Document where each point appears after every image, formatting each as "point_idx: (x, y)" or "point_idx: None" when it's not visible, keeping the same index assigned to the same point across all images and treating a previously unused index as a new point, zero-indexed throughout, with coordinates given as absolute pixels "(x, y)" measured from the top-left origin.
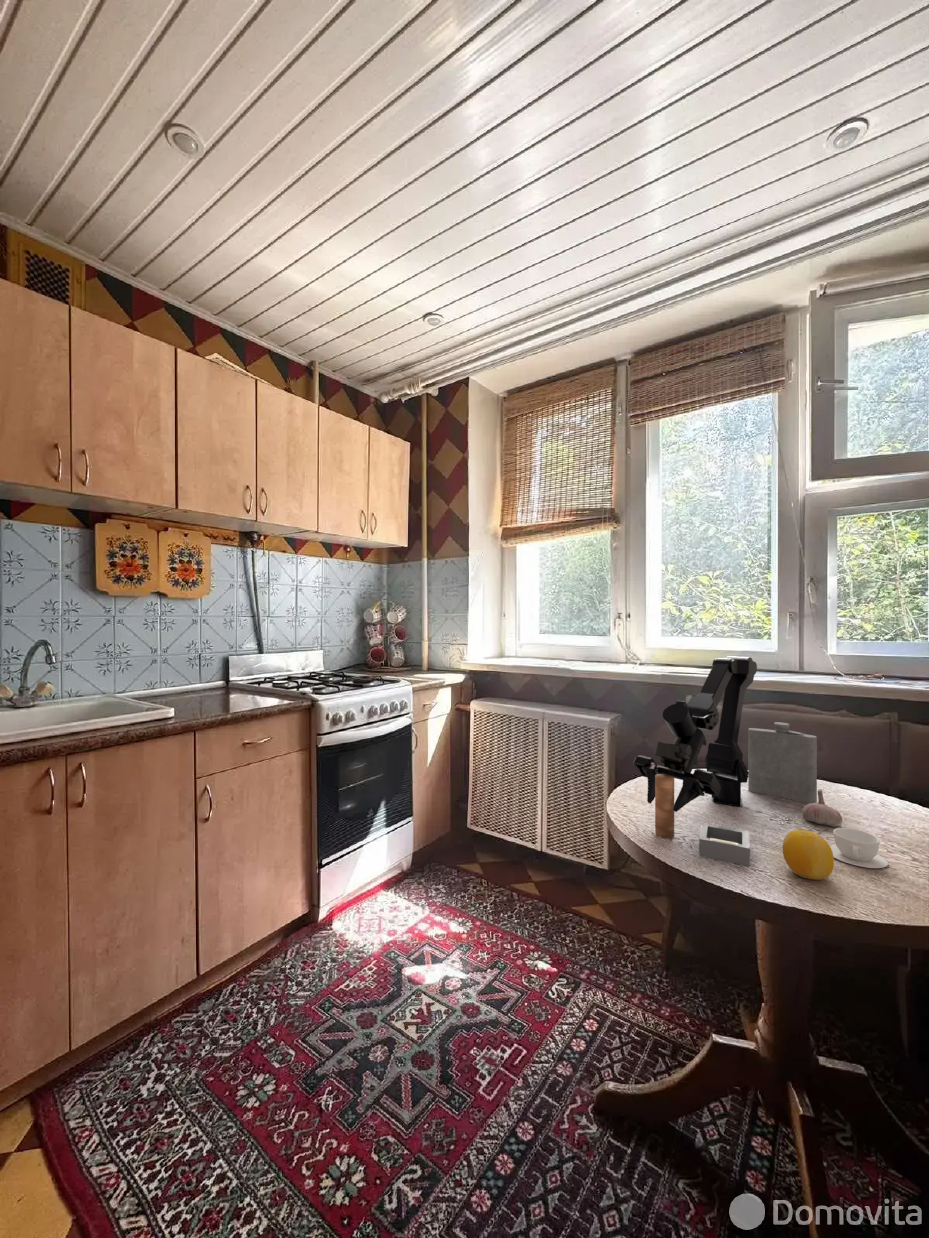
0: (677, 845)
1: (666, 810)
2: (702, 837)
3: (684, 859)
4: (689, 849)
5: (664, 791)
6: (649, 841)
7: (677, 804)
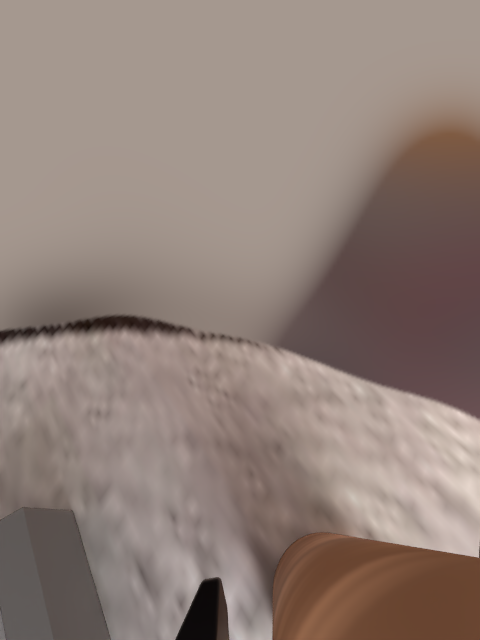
0: (196, 520)
1: (291, 568)
2: (12, 544)
3: (104, 416)
4: (135, 535)
5: (328, 580)
6: (298, 429)
7: (184, 631)
